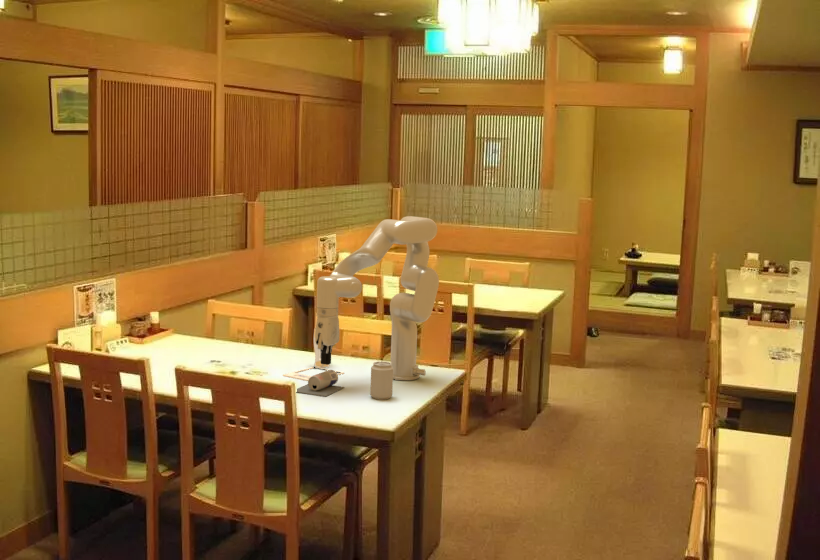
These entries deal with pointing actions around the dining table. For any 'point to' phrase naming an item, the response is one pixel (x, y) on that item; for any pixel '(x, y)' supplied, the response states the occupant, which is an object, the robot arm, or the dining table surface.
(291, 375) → the photo frame
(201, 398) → the dining table surface
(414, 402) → the dining table surface
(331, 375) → the energy drink
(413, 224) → the robot arm
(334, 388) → the mat
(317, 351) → the beer glass
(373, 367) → the can
